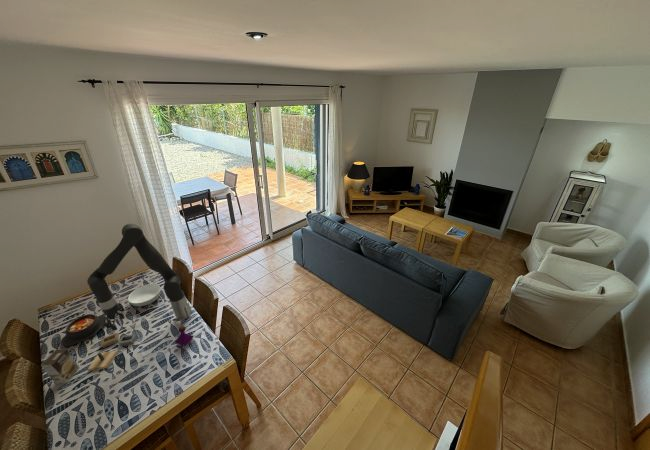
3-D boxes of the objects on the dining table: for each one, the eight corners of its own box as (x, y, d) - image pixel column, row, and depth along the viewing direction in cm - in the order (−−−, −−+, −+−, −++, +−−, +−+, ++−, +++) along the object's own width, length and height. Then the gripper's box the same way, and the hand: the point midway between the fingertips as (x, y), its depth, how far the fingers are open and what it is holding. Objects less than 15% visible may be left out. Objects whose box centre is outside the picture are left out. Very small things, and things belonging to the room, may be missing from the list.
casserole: (101, 313, 184) (96, 305, 180) (115, 323, 176) (110, 315, 172) (56, 340, 165) (49, 331, 161) (70, 353, 157) (63, 343, 153)
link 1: (118, 335, 168) (117, 332, 166) (118, 341, 164) (117, 338, 162) (103, 341, 164) (101, 338, 162) (103, 347, 160) (101, 344, 158)
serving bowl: (155, 286, 209) (152, 280, 206) (168, 297, 198) (165, 290, 195) (126, 302, 194) (123, 295, 191) (138, 314, 183) (135, 307, 180)
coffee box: (67, 383, 141) (52, 364, 133) (55, 384, 140) (39, 365, 133) (80, 367, 149) (67, 348, 141) (68, 367, 148) (54, 349, 141)
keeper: (117, 352, 157) (113, 345, 154) (108, 367, 148) (103, 360, 145) (99, 354, 156) (94, 347, 153) (89, 370, 147) (84, 363, 144)
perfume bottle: (194, 339, 165) (187, 319, 157) (185, 349, 159) (177, 329, 150) (185, 336, 167) (178, 316, 159) (176, 345, 161) (167, 325, 153)
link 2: (137, 337, 167) (135, 334, 165) (133, 344, 162) (131, 341, 161) (123, 339, 165) (122, 335, 164) (119, 346, 161) (117, 343, 159)
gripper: (108, 313, 143) (119, 333, 151) (122, 295, 155) (131, 314, 163) (93, 314, 142) (105, 334, 150) (108, 296, 154) (118, 315, 162)
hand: (119, 324), depth 156 cm, fingers open, 8 cm apart
